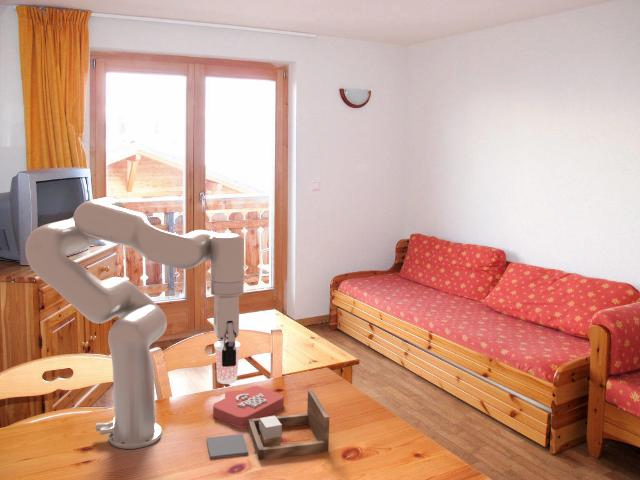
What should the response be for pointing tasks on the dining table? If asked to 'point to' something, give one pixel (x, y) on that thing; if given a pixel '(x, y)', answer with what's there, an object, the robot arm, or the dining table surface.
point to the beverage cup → (226, 373)
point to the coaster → (227, 446)
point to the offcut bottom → (270, 441)
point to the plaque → (247, 405)
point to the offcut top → (270, 427)
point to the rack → (313, 417)
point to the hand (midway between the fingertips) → (227, 359)
